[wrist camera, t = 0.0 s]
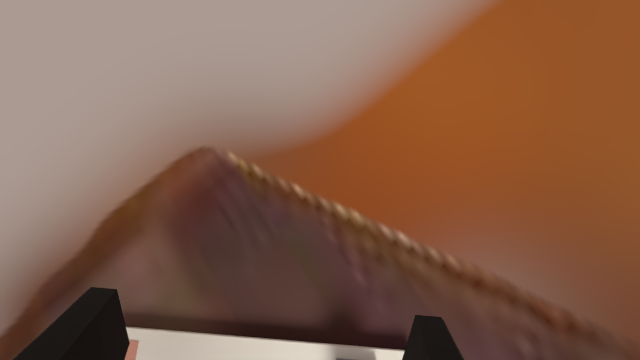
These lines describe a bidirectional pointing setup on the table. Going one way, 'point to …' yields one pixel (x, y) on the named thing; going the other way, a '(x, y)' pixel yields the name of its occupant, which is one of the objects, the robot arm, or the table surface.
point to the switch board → (240, 348)
